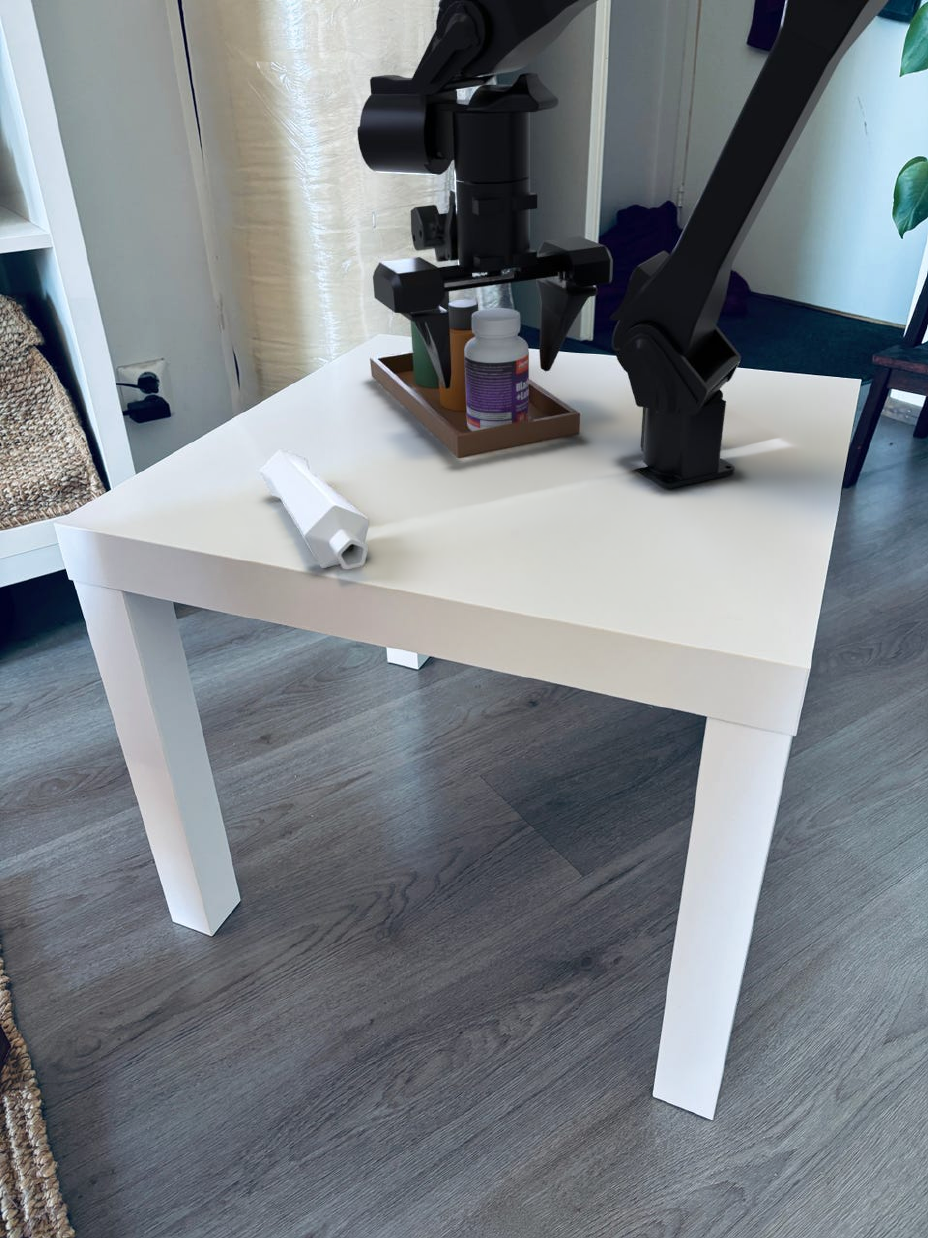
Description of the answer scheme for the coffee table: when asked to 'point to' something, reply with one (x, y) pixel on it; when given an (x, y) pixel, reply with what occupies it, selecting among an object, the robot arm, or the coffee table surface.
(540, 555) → the coffee table surface
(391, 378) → the tray
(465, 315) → the amber bottle
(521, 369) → the pill bottle
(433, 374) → the green bottle
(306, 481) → the perfume bottle
